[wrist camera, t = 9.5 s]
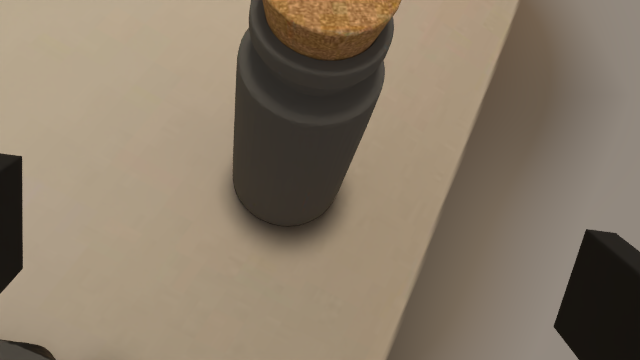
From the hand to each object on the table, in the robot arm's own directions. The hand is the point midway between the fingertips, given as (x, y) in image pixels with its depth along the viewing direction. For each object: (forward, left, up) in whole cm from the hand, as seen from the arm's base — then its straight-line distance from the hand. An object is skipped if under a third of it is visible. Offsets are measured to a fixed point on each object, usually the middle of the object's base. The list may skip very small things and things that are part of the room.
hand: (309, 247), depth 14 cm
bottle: (+4, -9, -16) cm, 19 cm away
